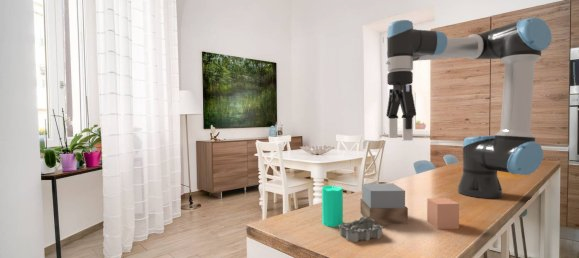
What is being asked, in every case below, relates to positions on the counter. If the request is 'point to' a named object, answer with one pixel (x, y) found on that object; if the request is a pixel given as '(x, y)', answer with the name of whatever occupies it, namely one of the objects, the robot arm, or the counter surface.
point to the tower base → (385, 214)
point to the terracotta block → (443, 213)
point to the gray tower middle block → (383, 196)
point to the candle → (332, 206)
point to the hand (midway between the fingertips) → (399, 139)
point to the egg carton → (361, 229)
